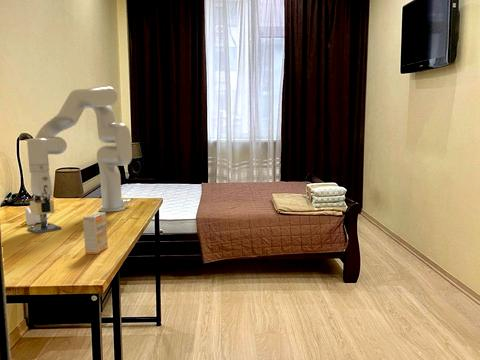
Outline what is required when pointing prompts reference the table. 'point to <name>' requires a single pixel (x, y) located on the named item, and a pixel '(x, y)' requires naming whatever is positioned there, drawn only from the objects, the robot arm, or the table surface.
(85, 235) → the supplement box
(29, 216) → the bracket
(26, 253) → the table surface
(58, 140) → the robot arm
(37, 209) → the collar
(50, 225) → the peg base plate
